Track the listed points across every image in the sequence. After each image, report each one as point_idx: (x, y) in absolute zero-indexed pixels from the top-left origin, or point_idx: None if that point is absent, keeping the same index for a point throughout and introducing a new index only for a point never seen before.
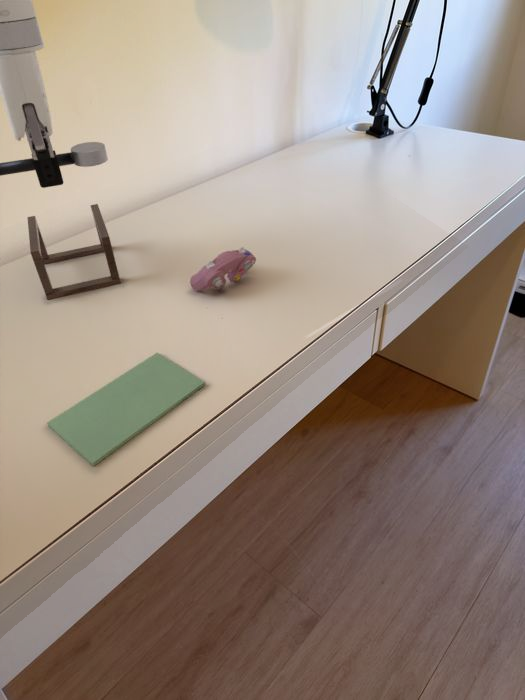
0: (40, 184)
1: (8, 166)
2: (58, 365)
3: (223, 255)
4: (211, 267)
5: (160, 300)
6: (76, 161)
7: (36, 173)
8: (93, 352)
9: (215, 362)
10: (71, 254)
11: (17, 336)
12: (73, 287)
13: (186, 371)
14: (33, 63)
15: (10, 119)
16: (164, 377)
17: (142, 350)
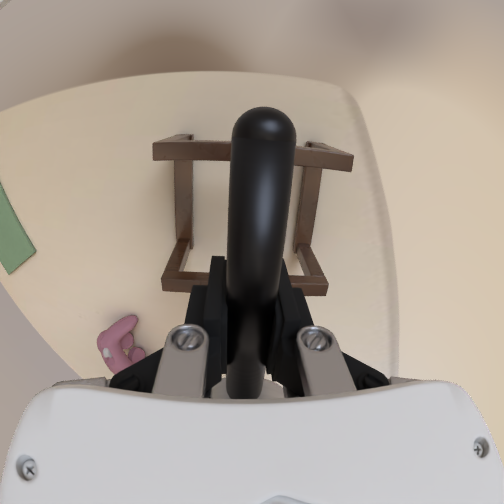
0: (212, 260)
1: (234, 201)
2: (38, 153)
3: (114, 369)
4: (103, 352)
5: (120, 279)
6: (214, 390)
7: (209, 281)
8: (47, 191)
9: (29, 288)
10: (301, 193)
11: (101, 96)
12: (179, 180)
13: (15, 267)
14: None
15: (3, 478)
16: (11, 249)
17: (43, 239)
